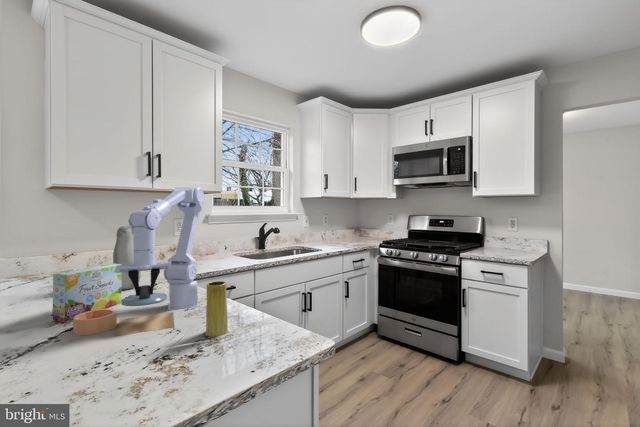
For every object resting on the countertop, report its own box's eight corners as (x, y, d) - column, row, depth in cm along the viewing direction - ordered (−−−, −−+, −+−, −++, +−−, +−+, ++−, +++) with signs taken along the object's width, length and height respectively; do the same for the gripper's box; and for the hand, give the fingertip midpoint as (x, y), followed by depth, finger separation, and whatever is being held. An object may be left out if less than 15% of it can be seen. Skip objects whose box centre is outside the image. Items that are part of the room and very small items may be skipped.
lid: (166, 293, 103) (166, 280, 103) (167, 302, 92) (167, 288, 92) (123, 298, 97) (123, 284, 97) (118, 308, 86) (118, 293, 86)
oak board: (173, 313, 105) (173, 312, 105) (174, 328, 91) (174, 327, 91) (120, 320, 98) (120, 319, 98) (113, 338, 85) (113, 336, 85)
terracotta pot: (118, 321, 97) (118, 307, 97) (114, 332, 88) (113, 316, 88) (79, 326, 93) (78, 311, 93) (69, 339, 84) (69, 322, 84)
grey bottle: (125, 285, 144) (125, 225, 144) (145, 286, 143) (145, 225, 143) (108, 291, 134) (107, 226, 134) (129, 292, 133) (129, 226, 133)
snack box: (66, 323, 96) (66, 274, 96) (51, 321, 97) (51, 273, 97) (122, 303, 117) (122, 263, 117) (110, 302, 118) (109, 262, 118)
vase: (206, 339, 83) (206, 286, 83) (203, 332, 89) (203, 282, 89) (230, 335, 86) (229, 284, 86) (225, 328, 92) (225, 280, 92)
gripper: (114, 252, 88) (114, 300, 88) (171, 249, 94) (171, 294, 94) (117, 249, 94) (117, 294, 94) (170, 247, 100) (170, 289, 100)
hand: (144, 294), depth 94 cm, fingers closed on lid, 3 cm apart
